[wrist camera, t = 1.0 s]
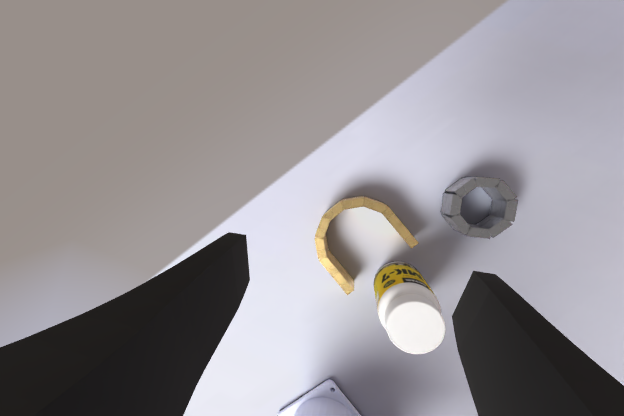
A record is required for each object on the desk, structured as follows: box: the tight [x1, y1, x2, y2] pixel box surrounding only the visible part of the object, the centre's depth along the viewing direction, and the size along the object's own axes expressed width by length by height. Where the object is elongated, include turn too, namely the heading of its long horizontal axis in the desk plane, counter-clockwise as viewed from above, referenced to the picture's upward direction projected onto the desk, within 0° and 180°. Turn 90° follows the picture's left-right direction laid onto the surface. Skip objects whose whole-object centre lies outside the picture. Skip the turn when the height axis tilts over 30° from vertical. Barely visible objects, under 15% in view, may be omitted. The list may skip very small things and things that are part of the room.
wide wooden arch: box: [315, 196, 418, 295], centre depth 26 cm, size 7×8×2 cm
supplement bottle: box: [374, 262, 445, 354], centre depth 23 cm, size 5×5×8 cm
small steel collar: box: [441, 177, 518, 239], centre depth 24 cm, size 5×5×2 cm
